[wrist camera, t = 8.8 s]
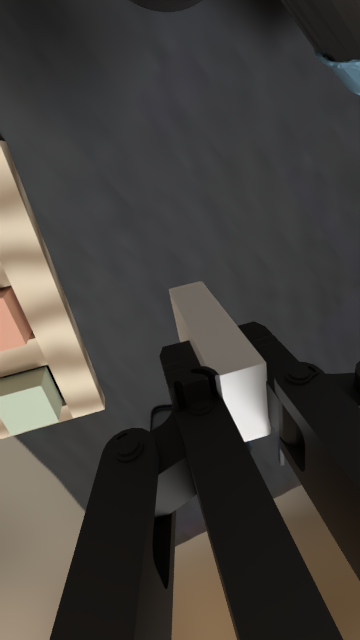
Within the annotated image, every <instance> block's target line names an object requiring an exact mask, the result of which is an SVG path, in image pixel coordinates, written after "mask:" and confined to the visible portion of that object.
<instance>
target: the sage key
mask: <svg viewBox="0 0 360 640" xmlns="http://www.w3.org/2000/svg"><path fill="white" fill-rule="evenodd" d="M62 402H63V401H62V399H61V397H60V394H59V392H58V390H57V388H56V386H55V384H54V382H53V380H52V378H51V375H50V373H49V371H48V369H47V367H42V368H39V369H35V370H31V371H27V372H24V373H20V374H16V375H12V376H9V377H5V378H1V379H0V418H1V420H2V422H3V423H4V425H5V426H6V428H7V430H8V431H9V433H10V435H15V434H18V433H22V432H25V431H29V430H32V429H36V428H39V427H43V426H46V425H50V424H53V423H57V422H59V419H60V413H61V408H62Z"/></svg>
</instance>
